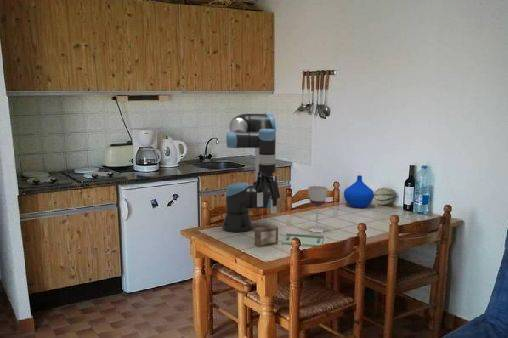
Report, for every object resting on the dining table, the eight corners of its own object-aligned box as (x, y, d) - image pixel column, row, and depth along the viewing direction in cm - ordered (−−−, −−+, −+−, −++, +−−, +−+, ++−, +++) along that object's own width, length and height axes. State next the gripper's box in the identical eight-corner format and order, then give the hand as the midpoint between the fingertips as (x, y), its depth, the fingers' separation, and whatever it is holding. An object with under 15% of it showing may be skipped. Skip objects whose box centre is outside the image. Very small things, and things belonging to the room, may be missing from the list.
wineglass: (321, 234, 228) (323, 190, 224) (304, 230, 233) (305, 188, 229) (328, 229, 235) (330, 187, 231) (311, 226, 240) (312, 185, 236)
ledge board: (281, 244, 212) (282, 240, 212) (286, 236, 223) (286, 233, 223) (321, 247, 208) (321, 243, 207) (323, 239, 219) (323, 236, 218)
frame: (258, 247, 208) (258, 230, 207) (254, 244, 212) (254, 228, 210) (278, 244, 212) (278, 227, 211) (273, 241, 216) (273, 225, 215)
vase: (367, 211, 272) (369, 179, 269) (338, 207, 282) (339, 176, 279) (377, 205, 287) (379, 175, 284) (349, 201, 297) (350, 172, 294)
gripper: (288, 166, 196) (287, 215, 200) (261, 159, 218) (261, 203, 222) (272, 168, 193) (272, 217, 196) (247, 160, 215) (247, 204, 219)
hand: (266, 209), depth 209 cm, fingers open, 13 cm apart
